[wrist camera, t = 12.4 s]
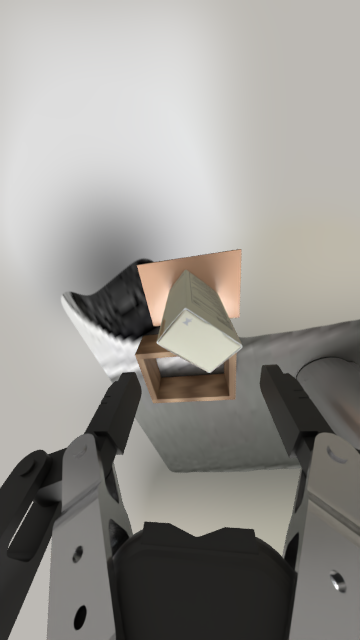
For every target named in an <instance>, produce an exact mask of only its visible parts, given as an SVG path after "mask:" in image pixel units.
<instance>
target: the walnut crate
mask: <svg viewBox="0 0 360 640" xmlns="http://www.w3.org/2000/svg"><path fill="white" fill-rule="evenodd" d="M157 339H158V334H155V335H145V336H143V337H142V340H141V342H140V344H139V347H138V349H137V351H136V354H135V356H136V359H137V361H138V364H139V367H140V369H141V372H142V374H143V377H144V380H145V382H146V385H147V388H148V390H149V393H150V396H151V398H152V401H153V403H167V402H189V401H212V400H234V399H235V391H236V353H235V354H234V355H233V356H231V357H230V358H229V359H227V360H226V361H225V362H224V374H212V375H196V376H180V377H165V378H161V375H160V371H159V368H158V365H157V361H156V358H163V357H176V356H177V355H175V354H173V353H171V352H170V351H168V350H166V349H165V348H163V347H162V346H160V345H158V344H157Z"/></svg>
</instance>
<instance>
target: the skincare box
mask: <svg viewBox="0 0 360 640" xmlns="http://www.w3.org/2000/svg"><path fill="white" fill-rule="evenodd" d="M157 344H158V345H160V346H162V347H163V348H165V349H166V350H168V351H170V352H171V353H173V354H175V355H177V356H178V357H180V358H182V359H184V360H186V361H188V362H189V363H191V364H193V365H195V366H197V367H199V368H201V369H203V370H205V371H206V372H208V373H211V372H212V371H213V370H214V369H216V368H217V367H218V366H220V365H221V364H222V363H224V362H225V361H226V360H227V359H229V358H230V357H231V356H233V355H234V354H235V353H236V352H238V351H239V350H240V349H241V348H242V344H241V342H240V339H239V337H238V335H237V333H236V331H235V329H234V327H233V325H232V323H231V320H230V318H229V316H228V314H227V312H226V310H225V308H224V306H223V304H222V301H221V299H220V297H219V295H218V293H217V292H216V291H214V290H213V289H212V288H211V287H209V286H208V285H207V284H206V283H204V282H203V281H202V280H200V279H199V278H197V277H196V276H195V275H193V274H192V273H190V272H189V271H188V270H184V272H183V273H182V274H181V275H180V277H179V278H178V279H177V281H176V282H175V283H174V285H173V286H172V288H171V289H170V291H169V294H168V297H167V302H166V306H165V310H164V314H163V318H162V322H161V326H160V330H159V334H158V339H157Z"/></svg>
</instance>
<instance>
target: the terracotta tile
mask: <svg viewBox="0 0 360 640" xmlns="http://www.w3.org/2000/svg"><path fill="white" fill-rule="evenodd" d="M137 267H138V271H139V274H140V278H141V282H142V285H143V289H144V293H145V296H146V300H147V304H148V307H149V311H150V315H151V318H152V322H153V326H161V322H162V318H163V314H164V310H165V306H166V302H167V297H168V294H169V291H170V289H171V288H172V286H173V285H174V283H175V282H176V281H177V279H178V278H179V277H180V275H181V274H182V273H183V272H184V270H188V271H189V272H190V273H192V274H193V275H195V276H196V277H197V278H199V279H200V280H202V281H203V282H204V283H206V284H207V285H208V286H209V287H211V288H212V289H213V290H214V291H216V292H217V293H218V295H219V297H220V299H221V301H222V304H223V306H224V308H225V310H226V312H227V314H228V316H229V318H237V317H238V318H239V314H240V313H239V312H240V281H241V249H238V250H231V251H225V252H218V253H211V254H205V255H198V256H192V257H186V258H179V259H172V260H166V261H159V262H153V263H146V264H140V265H137Z"/></svg>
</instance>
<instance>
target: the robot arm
mask: <svg viewBox="0 0 360 640" xmlns="http://www.w3.org/2000/svg"><path fill="white" fill-rule="evenodd" d="M260 388H261V392H262V394H263V397H264V399H265V402H266V404H267V406H268V409H269V411H270V413H271V416H272V418H273V420H274V423H275V425H276V428H277V430H278V432H279V435H280V437H281V439H282V442H283V444H284V446H285V449H286V451H287V453H288V456H289V458H298V460H299V462H300V465H301V471H300V476H299V481H298V486H297V492H296V497H295V502H294V507H293V513H292V517H291V520H290V523H289V527H288V531H287V535H286V540H285V545H284V550H283V555H282V556H281V555H280V554H279V553H278V552H277V551H276V550H275V549H273V548H272V547H271V546H270V545H268V544H267V543H266V542H264V541H263V540H261V539H259V538H257V537H255V532H254V530H253V529H241V528H228V527H227V528H226V527H225V528H222V529H219V530H216V531H214V532H211V533H208V534H206V535H203V536H200V537H195V536H193V535H191V534H189V533H187V532H185V531H183V530H181V529H179V528H177V527H176V526H174V525H172V524H170V523H157V522H144V528H143V530H140V531H139V532H137V533H135V534H134V535H133V533H132V529H131V525H130V521H129V518H128V515H127V513H126V510H125V508H124V506H123V502H122V498H121V493H120V489H119V484H118V480H117V475H116V471H115V467H114V463H113V461H114V458H115V455H123V453H124V449H125V447H126V443H127V440H128V437H129V433H130V430H131V427H132V424H133V421H134V417H135V414H136V411H137V408H138V405H139V401H140V398H141V386H140V383H139V381H138V378H137V376H136V373H135V372H127V373H122V374H121V376H120V378H119V380H118V381H115V382H114V383H113V384H112V385H111V386H110V387H109V388H108V390H107V392H106V394H105V396H104V398H103V399H102V401H101V404H100V405H99V407H98V409H97V411H96V413H95V415H94V417H93V418H92V420H91V422H90V424H89V426H88V428H87V430H86V432H85V433H84V434H83V435H81V436H79V437H77V438H76V439H75V440H74V441H73V442H72V443H71V444H70V445H69V446H68V447H67V448H65V449H62V450H59V451H56V452H54V453H51V454H47V453H46V452H45V451H43V450H37V451H34V452H32V453H30V454H29V455H27V456H26V457H25V458H24V459H22V460H21V461H20V462H19V463H18V464H17V466H16V467H15V468H14V470H13V471H12V472H11V474H10V475H9V477H8V478H7V480H6V481H5V482H4V484H3V485H2V487H1V488H0V640H8V637H9V635H10V633H11V630H12V628H13V626H14V623H15V621H16V619H17V616H18V614H19V612H20V609H21V607H22V605H23V602H24V600H25V597H26V595H27V593H28V590H29V588H30V586H31V583H32V581H33V579H34V576H35V574H36V572H37V569H38V567H39V565H40V562H41V560H42V558H43V555H44V553H45V551H46V548H47V546H48V543H49V541H50V539H51V536H52V548H51V567H50V586H49V607H48V627H47V640H360V366H358V365H357V364H356V363H355V362H347V361H345V360H343V359H340V358H324V359H320V360H317V361H314V362H312V363H310V364H308V365H307V366H305V367H304V368H303V369H302V370H301V371H300V372H299V373H298V376H297V380H296V379H295V378H294V377H293V376H291V375H290V374H289V373H286V374H283V372H282V371H281V369H280V368H279V366H278V365H263V366H262V370H261V378H260ZM32 501H33V502H34V503H33V504H32V506H31V508H30V510H29V512H28V513H27V515H26V517H25V519H24V521H23V522H22V525H21V526H20V528H19V530H18V532H17V533H16V535H15V537H14V539H13V541H12V543H11V545H10V546H9V543H10V541H11V539H12V537H13V535H14V534H15V532H16V530H17V528H18V526H19V525H20V523H21V521H22V519H23V517H24V515H25V514H26V512H27V510H28V508H29V506H30V505H31V503H32ZM8 546H9V548H8ZM7 549H8V550H7Z"/></svg>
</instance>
